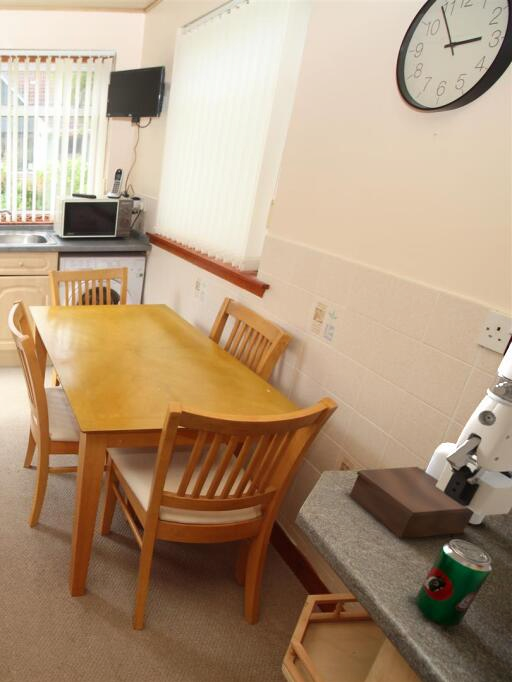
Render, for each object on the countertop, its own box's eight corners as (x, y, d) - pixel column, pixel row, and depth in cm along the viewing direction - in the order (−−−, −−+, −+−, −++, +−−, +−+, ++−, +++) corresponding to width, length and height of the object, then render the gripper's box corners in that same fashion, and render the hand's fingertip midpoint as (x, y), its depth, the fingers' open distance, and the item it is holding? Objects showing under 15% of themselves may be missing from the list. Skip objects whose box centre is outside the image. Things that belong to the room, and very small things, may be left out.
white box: (461, 484, 75) (475, 458, 73) (508, 513, 69) (524, 486, 67) (435, 486, 74) (448, 459, 72) (479, 516, 68) (495, 488, 66)
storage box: (405, 491, 95) (417, 466, 93) (464, 533, 85) (479, 507, 82) (347, 495, 93) (357, 470, 91) (400, 539, 83) (413, 512, 80)
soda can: (454, 636, 66) (492, 572, 61) (409, 610, 70) (442, 548, 65) (461, 616, 69) (498, 554, 64) (418, 592, 73) (449, 531, 68)
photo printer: (411, 490, 96) (436, 438, 91) (427, 487, 97) (452, 435, 92) (469, 527, 86) (499, 471, 82) (486, 523, 87) (517, 468, 83)
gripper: (508, 408, 60) (448, 520, 67) (614, 404, 62) (546, 512, 69) (448, 381, 67) (400, 485, 74) (546, 378, 69) (490, 479, 76)
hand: (471, 497), depth 71 cm, fingers closed on white box, 5 cm apart
